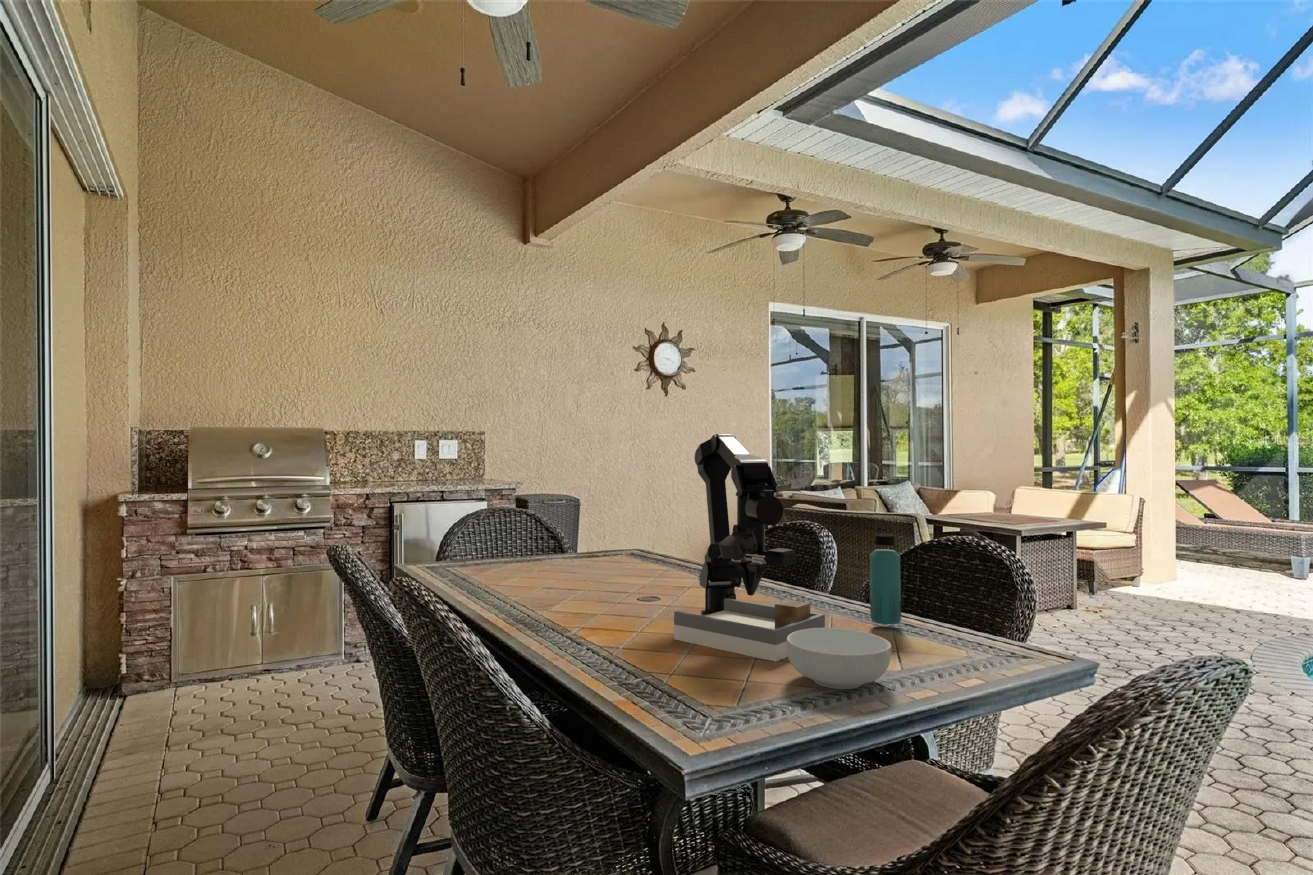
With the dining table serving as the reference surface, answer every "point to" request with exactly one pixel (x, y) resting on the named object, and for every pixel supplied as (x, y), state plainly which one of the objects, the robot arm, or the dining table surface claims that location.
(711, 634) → the trap box
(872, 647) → the cereal bowl
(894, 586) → the beverage bottle
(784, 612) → the walnut block
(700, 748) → the dining table surface
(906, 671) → the dining table surface
